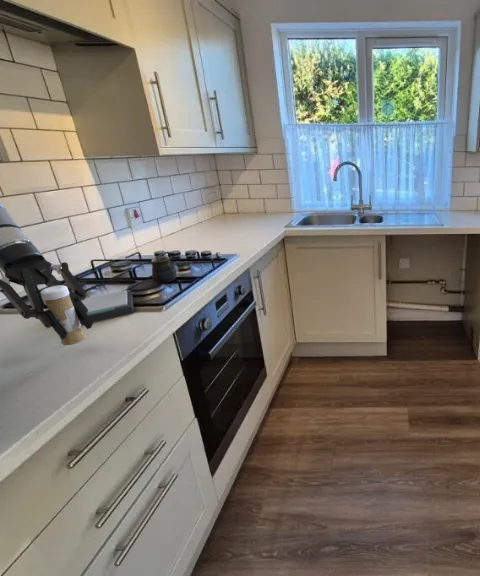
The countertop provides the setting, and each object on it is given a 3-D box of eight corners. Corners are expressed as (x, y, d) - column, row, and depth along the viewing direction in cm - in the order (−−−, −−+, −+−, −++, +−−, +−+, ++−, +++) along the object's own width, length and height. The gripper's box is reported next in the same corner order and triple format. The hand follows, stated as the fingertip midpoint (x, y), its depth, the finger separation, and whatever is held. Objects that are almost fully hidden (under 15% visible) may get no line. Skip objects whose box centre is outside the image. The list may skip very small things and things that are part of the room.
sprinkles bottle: (56, 345, 83) (33, 292, 78) (74, 335, 87) (53, 284, 82) (75, 346, 83) (53, 292, 77) (91, 336, 87) (71, 284, 82)
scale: (71, 327, 96) (68, 318, 95) (77, 307, 107) (74, 299, 106) (133, 312, 103) (130, 304, 102) (133, 296, 114) (130, 288, 113)
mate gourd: (177, 275, 130) (169, 248, 126) (179, 281, 124) (172, 254, 120) (154, 280, 126) (145, 252, 122) (155, 286, 120) (147, 258, 116)
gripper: (57, 251, 92) (115, 322, 91) (-39, 273, 77) (28, 357, 77) (61, 233, 87) (121, 307, 87) (-41, 252, 73) (30, 341, 73)
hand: (77, 330), depth 82 cm, fingers closed on sprinkles bottle, 4 cm apart
